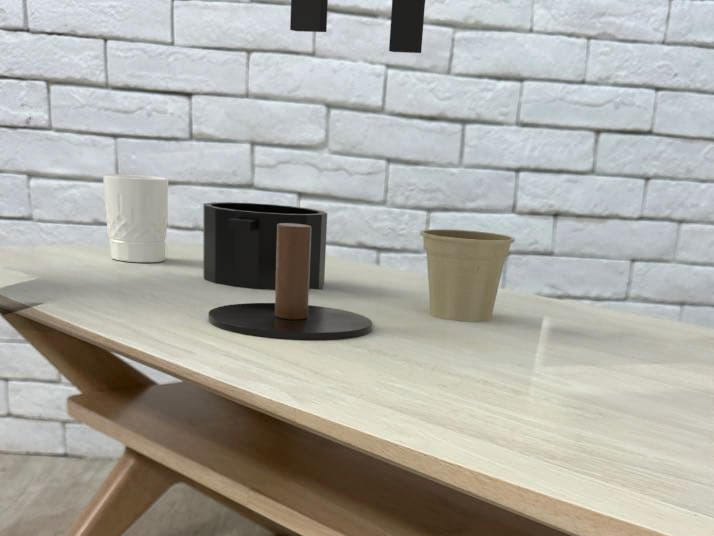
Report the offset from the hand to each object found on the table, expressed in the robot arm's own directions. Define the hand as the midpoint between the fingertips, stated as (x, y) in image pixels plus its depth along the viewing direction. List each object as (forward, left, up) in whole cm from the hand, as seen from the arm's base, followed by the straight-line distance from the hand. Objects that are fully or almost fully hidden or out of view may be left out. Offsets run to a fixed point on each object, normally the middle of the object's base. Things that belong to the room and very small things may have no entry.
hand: (360, 43), depth 78 cm
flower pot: (+8, +18, -24) cm, 31 cm away
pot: (-16, +29, -24) cm, 41 cm away
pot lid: (-6, +4, -23) cm, 24 cm away
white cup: (-36, +40, -24) cm, 59 cm away
